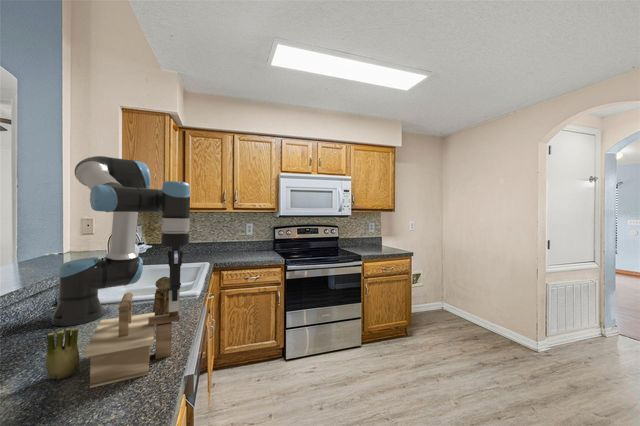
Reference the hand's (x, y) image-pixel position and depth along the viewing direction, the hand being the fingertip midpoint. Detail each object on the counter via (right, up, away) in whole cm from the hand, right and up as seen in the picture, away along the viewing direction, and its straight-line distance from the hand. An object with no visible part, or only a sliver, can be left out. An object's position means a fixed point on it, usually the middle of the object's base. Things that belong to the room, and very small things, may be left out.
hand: (173, 309), depth 84 cm
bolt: (-2, -3, -1) cm, 4 cm away
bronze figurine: (-19, -13, +27) cm, 36 cm away
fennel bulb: (-21, -13, -13) cm, 28 cm away
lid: (-10, -5, -6) cm, 13 cm away
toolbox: (-8, -13, -5) cm, 16 cm away
